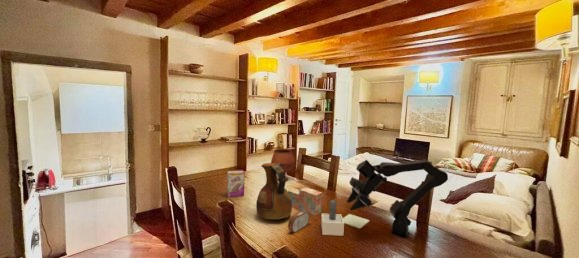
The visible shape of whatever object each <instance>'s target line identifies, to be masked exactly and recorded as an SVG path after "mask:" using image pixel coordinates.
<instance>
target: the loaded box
mask: <svg viewBox="0 0 579 258" xmlns="http://www.w3.org/2000/svg"><path fill="white" fill-rule="evenodd" d="M324 215H329V213H321V221H320V226H321V233H322V235H324V236H325V235H326V236H338V237H339V236H343V237H344V234H345V233H344V232H345V231H344V230H345V223H344V222H343V216H342V214H340V213H339V214H338V213H336V215H340V218H341V222H342V223H339V222H324V217H323V216H324Z"/></svg>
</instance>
